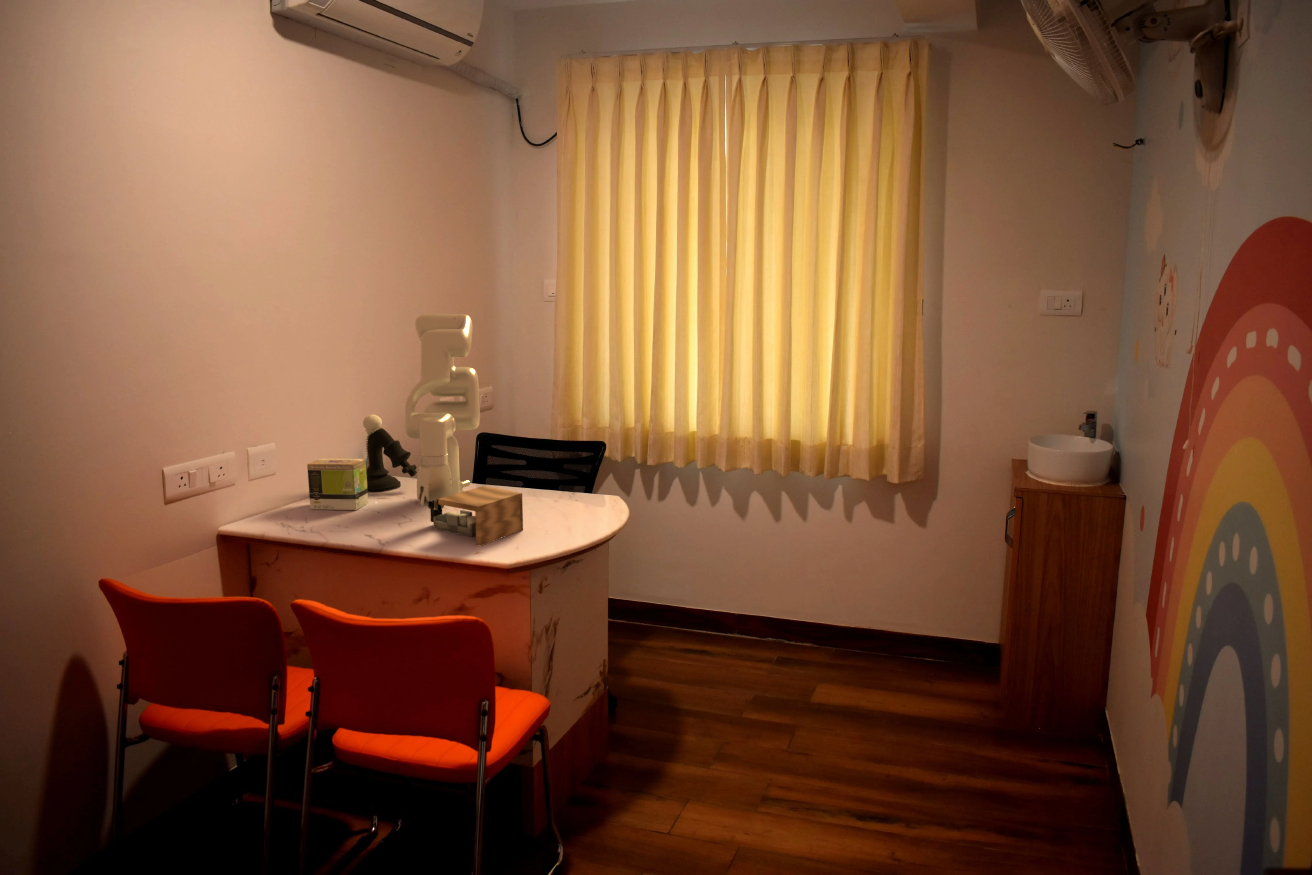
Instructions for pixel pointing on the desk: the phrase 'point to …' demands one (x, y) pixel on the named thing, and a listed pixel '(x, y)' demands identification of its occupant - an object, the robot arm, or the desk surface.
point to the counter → (490, 511)
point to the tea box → (337, 483)
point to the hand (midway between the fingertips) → (436, 521)
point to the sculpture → (392, 449)
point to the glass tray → (456, 523)
